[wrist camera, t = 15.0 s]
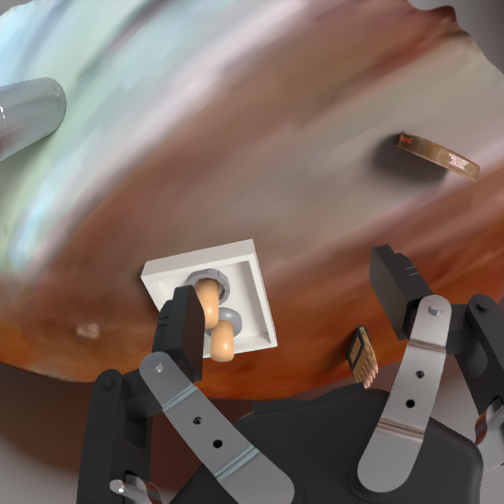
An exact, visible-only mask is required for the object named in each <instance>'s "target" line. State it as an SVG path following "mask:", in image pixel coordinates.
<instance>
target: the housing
mask: <svg viewBox="0 0 504 504" xmlns="http://www.w3.org/2000/svg"><path fill="white" fill-rule="evenodd" d="M202 278H212V279H216V280H217V281H218V282H219V285H220V286H219V316H218V324H217V325H216V326H215V327H213V328H210V329H205V334H204V349H203V358H207V357H211V358H212V359H213V360H215V361H218V362H227V361H230V360H231V359H233V357H234V354H235V353H241V352H247V351H253V350H259V349H264V348H270V347H275V346H277V340H276V333H275V328H274V324H273V320H272V316H271V312H270V308H269V304H268V300H267V296H266V292H265V288H264V283H263V279H262V275H261V271H260V267H259V263H258V259H257V255H256V251H255V247H254V243H253V239H249V240H244V241H239V242H235V243H230V244H225V245H220V246H216V247H211V248H207V249H202V250H197V251H193V252H188V253H184V254H179V255H174V256H170V257H165V258H161V259H156V260H152V261H147V262H146V263H145V266H144V269H143V271H142V274H141V279H142V280H143V282H144V284H145V286H146V288H147V290H148V292H149V294H150V295H151V297H152V299H153V301H154V303H155V305H156V306H157V308H158V310H159V312H160V310H161V308H162V307H163V305H164V304H165V302H166V301H167V300H172V299H173V294H174V289H175V288H176V287H180V286H186V285H193V287H194V289H195V286H196V281H197V280H198V279H202Z"/></svg>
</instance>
